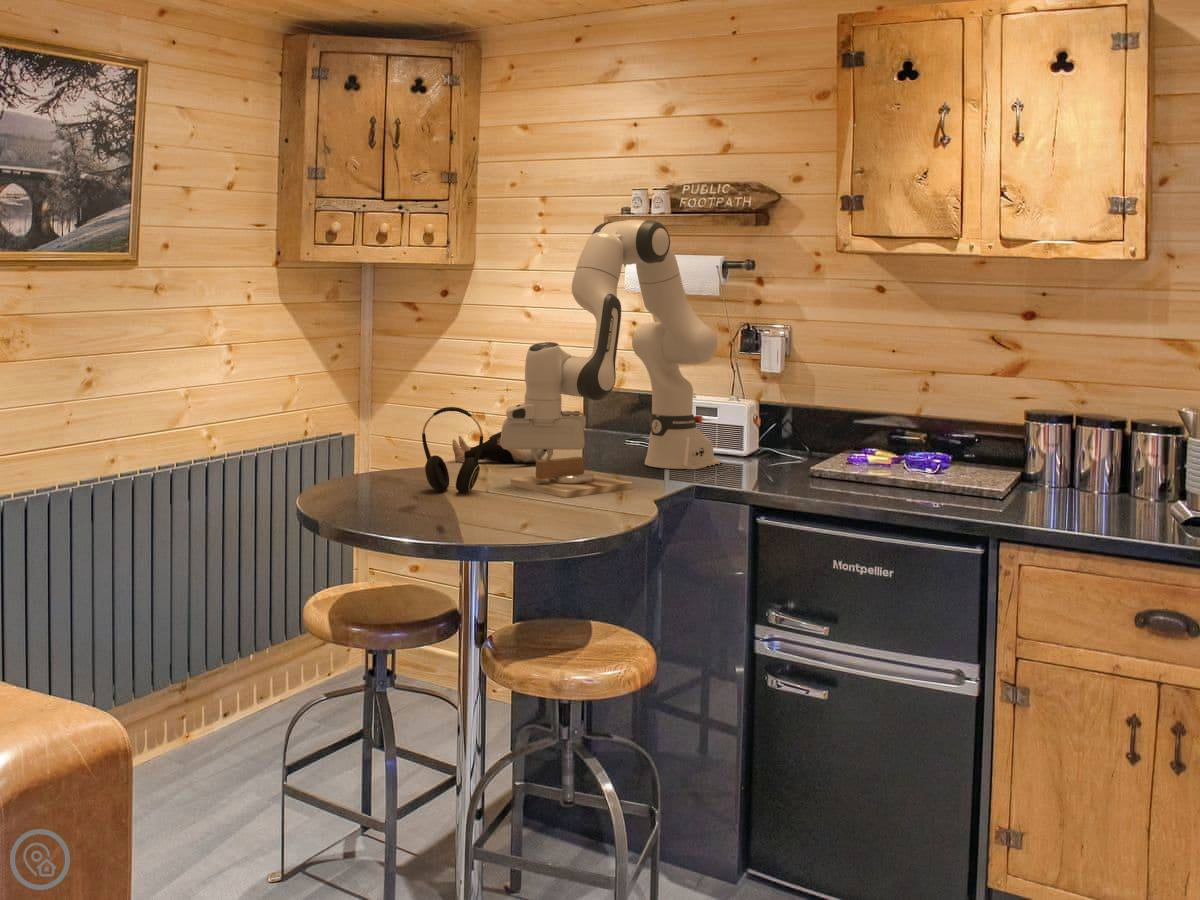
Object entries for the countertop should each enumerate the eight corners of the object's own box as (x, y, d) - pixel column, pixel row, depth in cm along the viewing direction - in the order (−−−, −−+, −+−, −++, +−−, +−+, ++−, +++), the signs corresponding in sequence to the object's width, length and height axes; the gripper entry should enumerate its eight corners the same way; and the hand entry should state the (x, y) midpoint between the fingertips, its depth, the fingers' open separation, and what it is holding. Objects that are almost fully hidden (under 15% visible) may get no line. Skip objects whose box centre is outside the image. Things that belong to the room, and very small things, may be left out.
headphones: (428, 487, 268) (428, 403, 265) (488, 490, 266) (488, 406, 263) (416, 493, 260) (415, 407, 257) (477, 496, 257) (478, 410, 254)
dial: (574, 474, 280) (574, 453, 279) (603, 480, 272) (603, 459, 271) (524, 480, 270) (524, 459, 269) (553, 486, 261) (553, 464, 261)
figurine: (463, 431, 321) (565, 414, 318) (470, 467, 323) (572, 450, 319) (444, 442, 299) (554, 423, 295) (452, 480, 300) (561, 462, 296)
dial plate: (576, 476, 287) (576, 470, 287) (632, 488, 271) (632, 481, 271) (510, 484, 273) (510, 477, 273) (565, 498, 258) (565, 490, 257)
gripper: (584, 409, 273) (583, 465, 275) (500, 408, 271) (499, 465, 273) (587, 412, 267) (586, 469, 269) (501, 411, 264) (500, 469, 266)
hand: (542, 467), depth 271 cm, fingers closed
